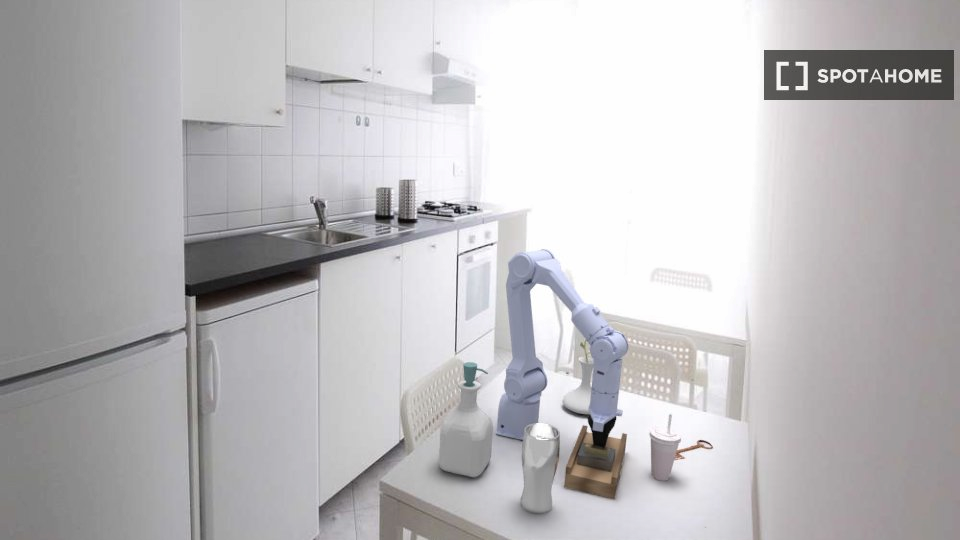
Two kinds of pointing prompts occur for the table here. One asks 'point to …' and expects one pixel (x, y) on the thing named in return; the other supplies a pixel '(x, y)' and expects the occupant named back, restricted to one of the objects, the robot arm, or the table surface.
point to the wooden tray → (593, 477)
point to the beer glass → (539, 466)
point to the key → (692, 449)
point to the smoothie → (663, 450)
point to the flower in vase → (581, 388)
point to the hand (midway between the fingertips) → (599, 448)
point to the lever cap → (596, 456)
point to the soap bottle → (466, 431)
